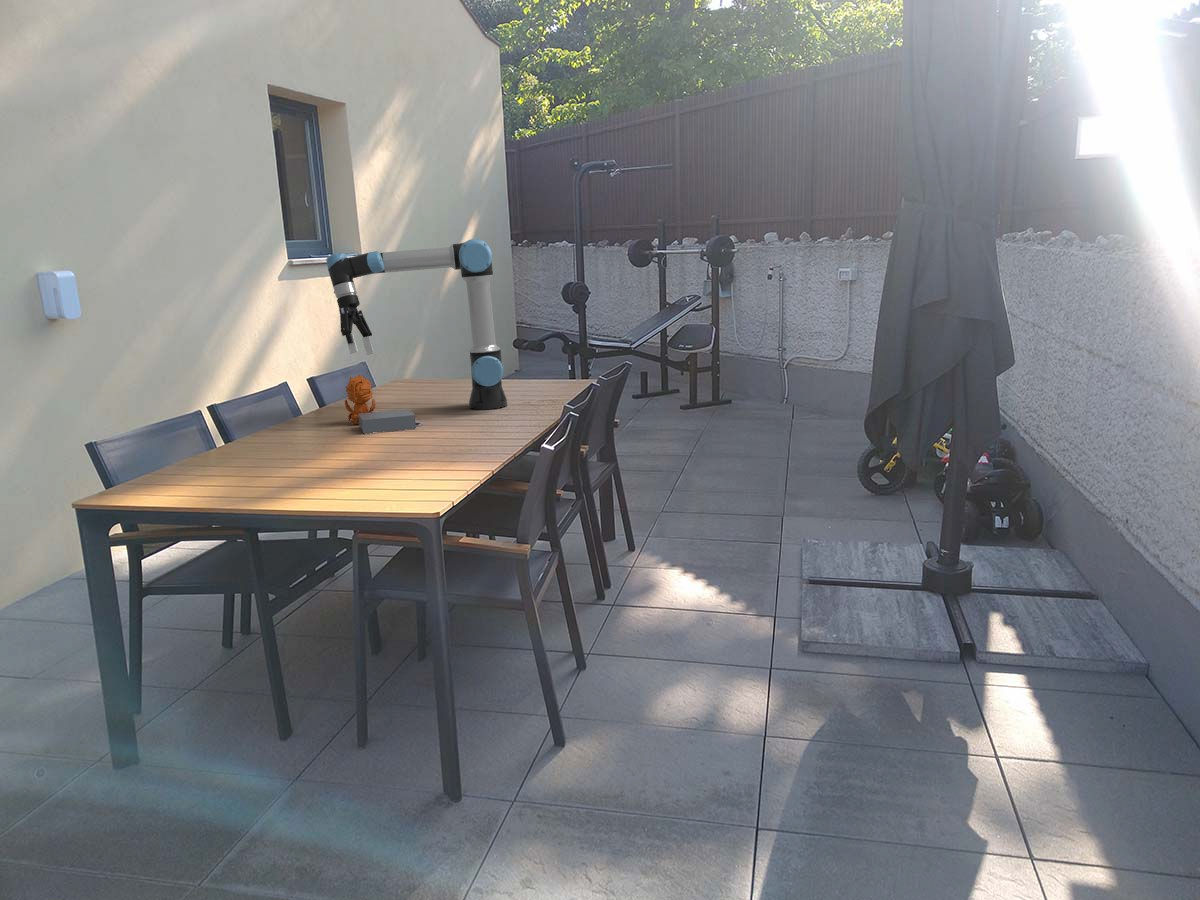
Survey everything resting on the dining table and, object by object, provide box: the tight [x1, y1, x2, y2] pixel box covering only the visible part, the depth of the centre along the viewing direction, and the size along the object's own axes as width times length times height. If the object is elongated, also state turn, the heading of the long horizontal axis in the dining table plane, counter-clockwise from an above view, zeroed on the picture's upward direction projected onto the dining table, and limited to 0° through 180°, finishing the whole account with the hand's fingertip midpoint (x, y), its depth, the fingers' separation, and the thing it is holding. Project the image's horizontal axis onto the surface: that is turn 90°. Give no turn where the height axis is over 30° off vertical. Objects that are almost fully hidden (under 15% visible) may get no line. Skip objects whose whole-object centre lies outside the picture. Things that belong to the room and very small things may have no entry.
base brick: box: [358, 408, 417, 435], centre depth 321 cm, size 18×14×5 cm
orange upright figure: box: [344, 373, 376, 425], centre depth 331 cm, size 11×11×18 cm
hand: (362, 353), depth 327 cm, fingers open, 13 cm apart
